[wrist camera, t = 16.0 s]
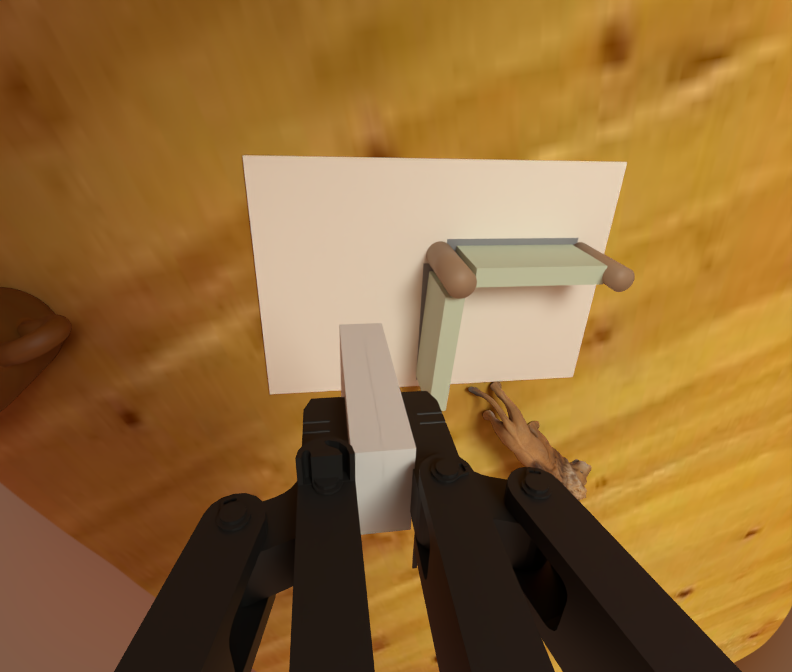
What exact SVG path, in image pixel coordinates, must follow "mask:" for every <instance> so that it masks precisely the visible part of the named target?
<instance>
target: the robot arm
mask: <svg viewBox="0 0 792 672" xmlns="http://www.w3.org/2000/svg"><path fill="white" fill-rule="evenodd" d="M339 332H340V369H341V395H342V397H333V398H317V399H311V400H310V401H309V403H308V404H307V406H306V407H305V409H304V413H303V436H302V447H301V448H300V449H299V450H298V452H297V455H296V458H295V459H296V470H297V482H296V483H295V484H294V485H293V487H292V488H291V489H289V490H288V491H286V492H285V493H283V494H281V495H279V496H277V497H274V498H272V499H269V500H266V501H263V502H262V501H261V500H260V499H259V498H258V497H256V496H254V495H250V494H247V493H241V494H232V495H229V496H226V497H223V498H221V499H219V500H218V501H216V502H215V503H213V504H212V505H211V506H210V507H209V508H208V509H207V511H206V512H205V513H204V514H203V516H202V518H201V520H200V521H199V523H198V525H197V527H196V528H195V530H194V532H193V534H192V535H191V537H190V539H189V541H188V543H187V544H186V546H185V548H184V550H183V551H182V553H181V555H180V557H179V558H178V560H177V562H176V564H175V565H174V567H173V569H172V571H171V572H170V574H169V576H168V578H167V579H166V581H165V583H164V585H163V586H162V588H161V590H160V592H159V594H158V595H157V597H156V599H155V601H154V603H153V604H152V606H151V608H150V610H149V611H148V613H147V615H146V617H145V618H144V620H143V622H142V623H141V626H140V627H139V629H138V631H137V632H136V634H135V636H134V638H133V639H132V641H131V643H130V645H129V646H128V648H127V650H126V652H125V653H124V655H123V657H122V659H121V660H120V662H119V664H118V666H117V667H116V669H115V671H114V672H251V669H252V666H253V663H254V660H255V657H256V654H257V651H258V648H259V645H260V642H261V639H262V636H263V633H264V630H265V627H266V624H267V621H268V618H269V615H270V612H271V609H272V606H273V603H274V600H275V596H276V594H277V593H279V592H281V591H283V590H286V589H288V588H290V587H292V586H293V603H292V625H291V646H290V668H289V672H375V670H374V660H373V650H372V640H371V630H370V620H369V610H368V600H367V591H366V581H365V571H364V561H363V551H362V541H361V535H362V534H371V533H381V532H390V531H400V530H410V529H411V517H412V522H413V527H414V531H415V535H414V548H413V563H412V568H417V565H418V570H419V575H420V580H421V585H422V589H423V594H424V599H425V604H426V609H427V614H428V618H429V623H430V628H431V633H432V638H433V642H434V647H435V652H436V657H437V662H438V667H439V671H440V672H555V671H554V668H553V666H552V663H551V661H550V659H549V656H548V654H547V651H546V649H545V646H544V644H543V641H544V643H545V645H546V646H547V648H548V649H549V651H550V652H551V654H552V655H553V657H554V658H555V660H556V662H557V663H558V665H559V666H560V668H561V669H562V671H563V672H742V671H740V670H739V668H737V667H736V665H735V664H734V663H733V662H732V661H731V660H730V659H729V658H728V657H727V656H726V655H725V654H724V653H723V652H722V650H721V649H720V648H719V647H718V646H717V645H716V644H715V643H714V642H713V641H712V640H711V639H710V638H709V637H708V636H707V635H706V634H705V633H704V632H703V631H702V630H701V628H700V627H699V626H698V625H697V624H696V623H695V622H694V621H693V620H692V619H691V618H690V617H689V616H688V615H687V614H686V613H685V612H684V611H683V610H682V609H681V608H680V606H679V605H678V604H677V603H676V602H675V601H674V600H673V599H672V598H671V597H670V596H669V595H668V594H667V593H666V592H665V591H664V590H663V589H662V588H661V587H660V585H659V584H658V583H657V582H656V581H655V580H654V579H653V578H652V577H651V576H650V575H649V574H648V573H647V572H646V571H645V570H644V569H643V568H642V567H641V566H640V565H639V563H638V562H637V561H636V560H635V559H634V558H633V557H632V556H631V555H630V554H629V553H628V552H627V551H626V550H625V549H624V548H623V547H622V546H621V545H620V544H619V542H618V541H617V540H616V539H615V538H614V537H613V536H612V535H611V534H610V533H609V532H608V531H607V530H606V529H605V528H604V527H603V526H602V525H601V524H600V523H599V522H598V520H597V519H596V518H595V517H594V516H593V515H592V514H591V513H590V512H589V511H588V510H587V509H586V508H585V507H584V506H583V505H582V504H581V503H580V502H579V501H578V499H577V498H576V497H575V496H574V495H573V494H572V493H571V492H570V491H569V490H568V489H567V488H566V487H565V486H564V485H563V484H562V483H561V482H560V481H559V480H558V479H557V478H556V477H555V476H553V475H552V474H551V473H549V472H547V471H544V470H542V469H540V468H534V467H523V468H518V469H516V470H514V471H513V472H511V474H510V476H509V477H508V480H506V479H500V478H494V477H489V476H485V475H481V474H479V473H476V472H474V471H473V470H472V468H471V467H470V465H469V464H468V463H467V462H466V461H464V460H463V459H462V458H460V457H459V455H458V453H457V450H456V447H455V445H454V442H453V440H452V437H451V434H450V432H449V429H448V427H447V424H446V423H445V419H444V416H443V414H442V411H441V409H440V406H439V403H438V401H437V400H436V399H435V398H434V397H433V396H432V395H431V394H430V393H429V392H428V391H416V392H401V391H400V388H399V384H398V381H397V377H396V373H395V370H394V366H393V362H392V359H391V355H390V352H389V348H388V344H387V341H386V337H385V334H384V330H383V326H382V323H369V324H342V325H339ZM541 638H542V639H541ZM542 640H543V641H542Z"/></svg>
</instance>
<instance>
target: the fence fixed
mask: <svg viewBox="0 0 792 672" xmlns="http://www.w3.org/2000/svg"><path fill="white" fill-rule="evenodd" d="M426 258H427V261H428V263H429V264H430V266H431V267H432V269H433V270H434V272H435V273H436V275H437V277H438V278H439V280H440V281H441V283H442V284H443V286H444V287H445V289H446V290H447V292H448V293H449V295H450V296H452V297H454V298H457V299H462V298H466V297H468V296H469V295H471V294H472V293H473V292H474V290H475V288H477V287H516V286H555V285H595V284H603V283H604V284H605V285H607V286H608V287H610V288H611V289H613V290H614V291H616V292H622V291H625V290H626V289H628V288H629V287H630V286H631V285H632V283H633V281H634V272H633V271H632V270H631V269H629V268H627V267H626V266H624V265H622V264H620V263H618V262H617V261H615V260H613V259H611V258H610V257H608V256H606V255H604V254H603V253H601V252H599V251H597V250H596V249H594V248H592V247H590V246H589V245H587V244H585V243H583V242H577V243H576V244H574V245H572V244H567V245H479V246H457V248H456V252H455V251H454V250H453V249H452V247H451V246H450V245H449V244H447V243H446V242H443V241H439V242H435V243H433V244H432V245H431V246H430V247H429V248H428V250H427V253H426Z"/></svg>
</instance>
